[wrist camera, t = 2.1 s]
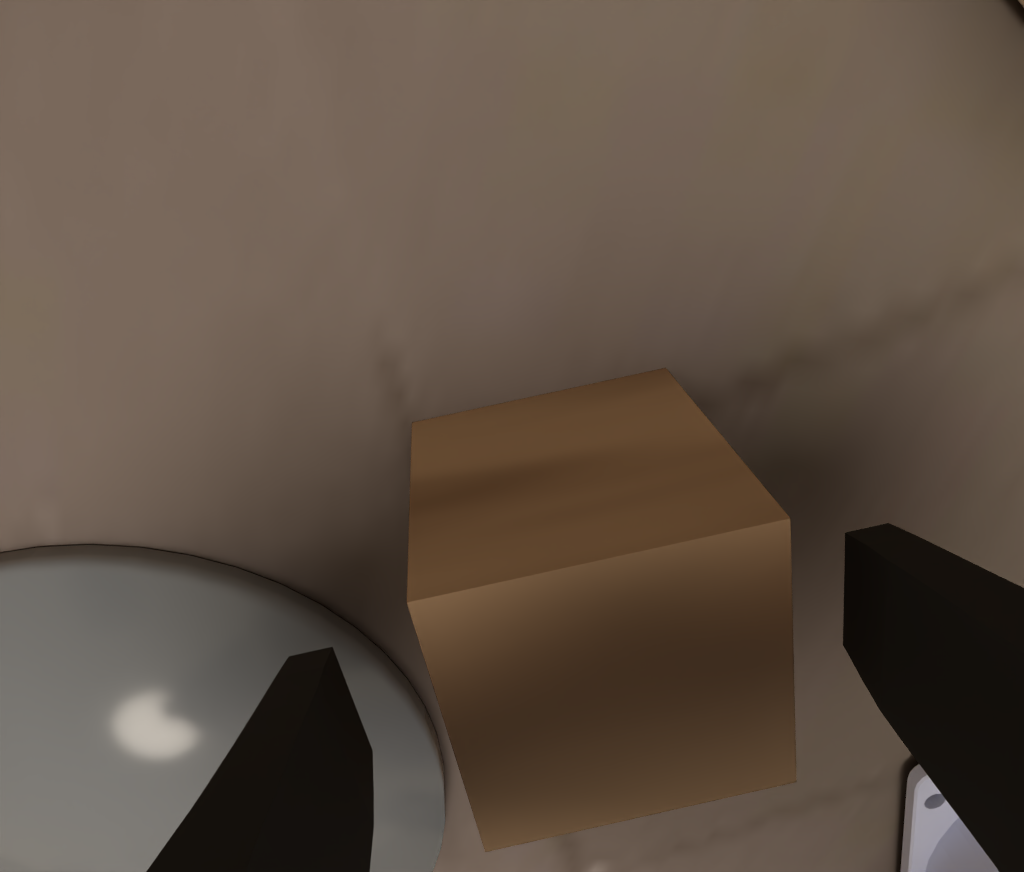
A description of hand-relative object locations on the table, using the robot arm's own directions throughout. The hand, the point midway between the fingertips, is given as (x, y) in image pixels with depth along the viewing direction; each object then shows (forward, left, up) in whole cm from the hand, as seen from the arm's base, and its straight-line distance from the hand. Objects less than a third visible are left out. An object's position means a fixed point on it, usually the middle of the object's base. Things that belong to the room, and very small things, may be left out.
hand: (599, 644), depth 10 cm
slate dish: (-5, +10, -4) cm, 12 cm away
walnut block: (0, 0, -4) cm, 4 cm away
